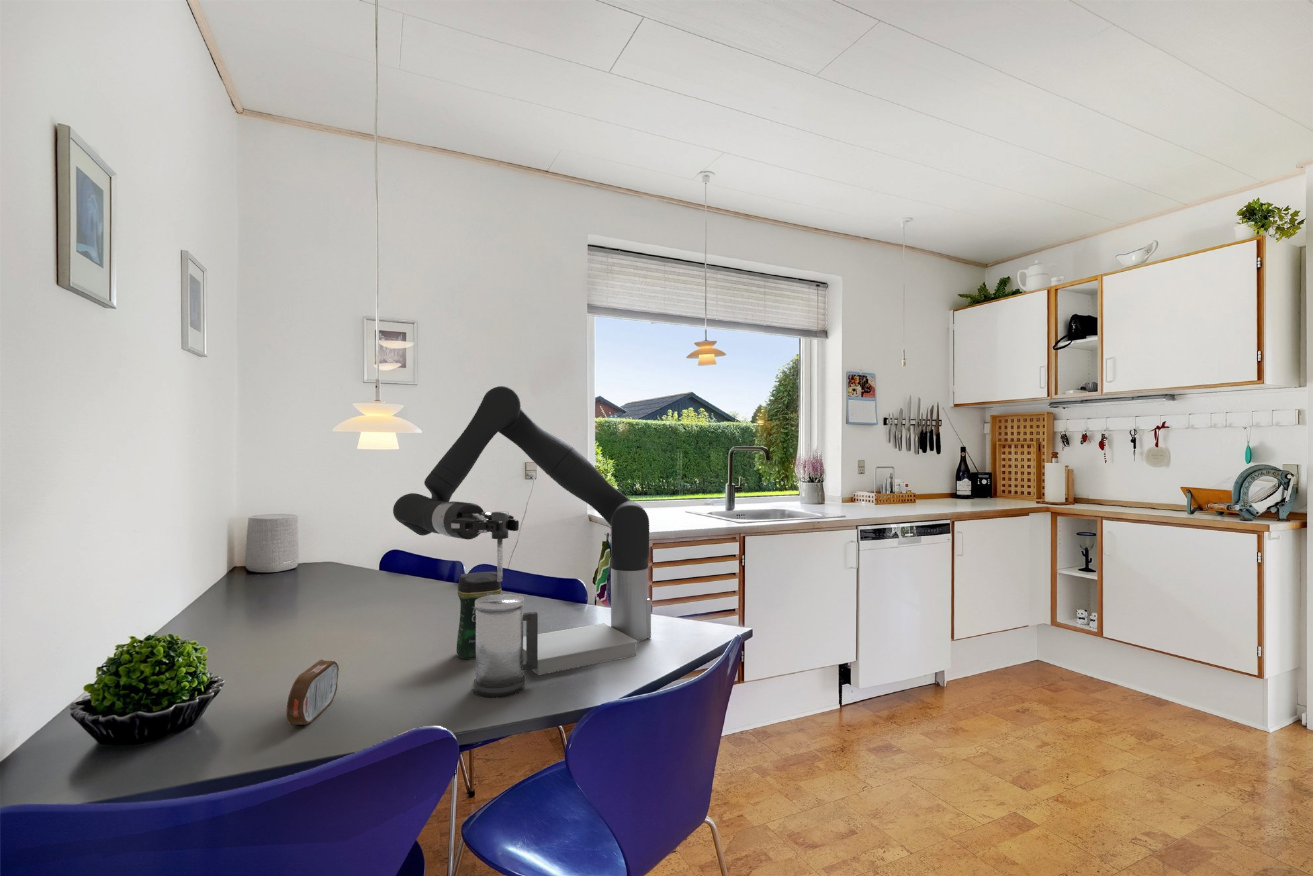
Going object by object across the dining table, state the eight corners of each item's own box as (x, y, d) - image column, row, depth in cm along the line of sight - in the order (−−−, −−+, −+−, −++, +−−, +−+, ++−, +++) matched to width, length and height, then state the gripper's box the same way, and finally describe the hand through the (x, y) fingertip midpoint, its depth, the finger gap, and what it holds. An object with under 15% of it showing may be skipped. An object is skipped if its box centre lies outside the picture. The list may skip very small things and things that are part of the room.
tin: (324, 698, 119) (324, 653, 119) (341, 697, 119) (341, 652, 119) (284, 734, 104) (284, 683, 104) (304, 734, 104) (304, 682, 104)
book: (638, 641, 143) (537, 660, 130) (638, 658, 143) (537, 678, 130) (601, 621, 158) (508, 637, 146) (601, 637, 158) (508, 653, 146)
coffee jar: (459, 663, 138) (460, 577, 138) (454, 652, 145) (454, 571, 145) (504, 656, 142) (504, 573, 142) (496, 646, 149) (496, 567, 150)
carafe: (532, 674, 131) (532, 591, 131) (541, 691, 122) (541, 602, 122) (471, 682, 127) (471, 596, 127) (475, 700, 117) (476, 608, 118)
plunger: (507, 579, 126) (507, 511, 126) (509, 582, 123) (509, 512, 123) (490, 580, 125) (490, 511, 125) (492, 583, 122) (492, 513, 122)
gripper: (428, 504, 128) (478, 509, 117) (486, 499, 139) (537, 504, 128) (427, 541, 128) (478, 550, 117) (486, 534, 139) (537, 541, 128)
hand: (509, 526), depth 122 cm, fingers closed on plunger, 3 cm apart
